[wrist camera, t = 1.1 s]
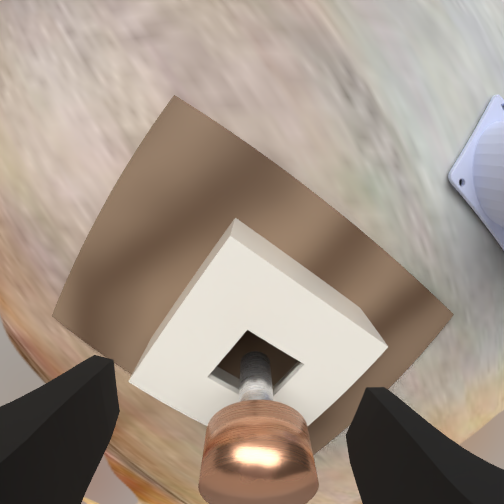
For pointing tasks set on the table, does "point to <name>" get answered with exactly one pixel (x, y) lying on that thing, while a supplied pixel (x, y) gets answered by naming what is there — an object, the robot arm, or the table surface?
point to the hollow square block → (256, 331)
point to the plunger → (257, 446)
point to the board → (206, 237)
